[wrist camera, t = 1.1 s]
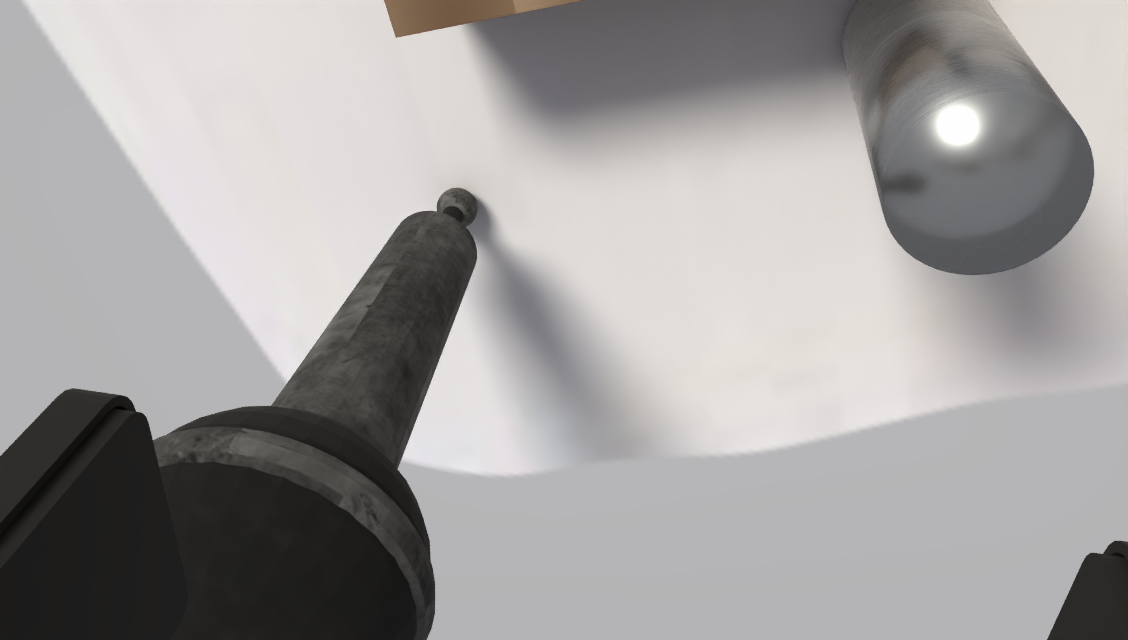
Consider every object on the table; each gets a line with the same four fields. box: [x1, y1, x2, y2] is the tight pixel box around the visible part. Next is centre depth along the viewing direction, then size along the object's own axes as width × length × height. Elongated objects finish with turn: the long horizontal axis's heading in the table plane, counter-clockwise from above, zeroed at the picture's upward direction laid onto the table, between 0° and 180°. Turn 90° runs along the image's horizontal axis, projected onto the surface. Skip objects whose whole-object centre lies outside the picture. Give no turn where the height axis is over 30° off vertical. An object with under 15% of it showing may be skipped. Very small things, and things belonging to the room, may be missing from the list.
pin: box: [843, 0, 1094, 275], centre depth 25 cm, size 4×4×10 cm
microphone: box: [153, 188, 477, 640], centre depth 25 cm, size 7×7×20 cm
